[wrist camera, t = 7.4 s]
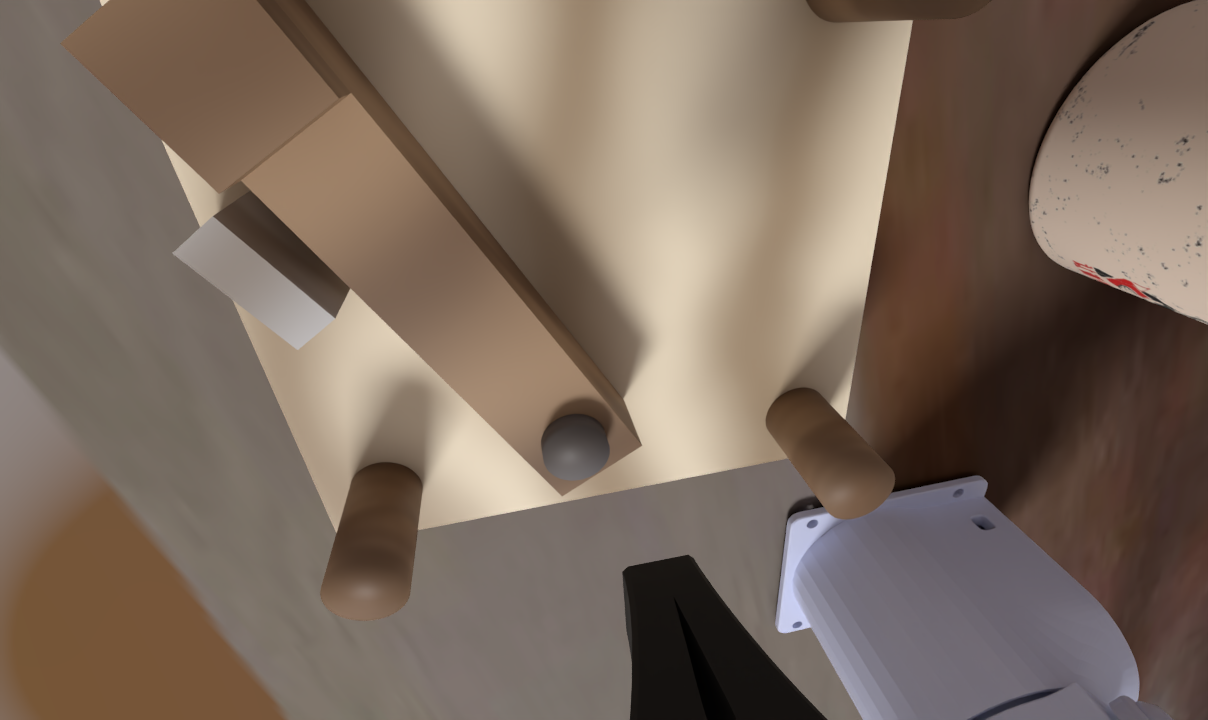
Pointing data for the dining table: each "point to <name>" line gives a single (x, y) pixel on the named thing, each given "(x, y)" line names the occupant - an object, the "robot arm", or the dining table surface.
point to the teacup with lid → (1134, 167)
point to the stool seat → (595, 250)
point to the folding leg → (361, 207)
